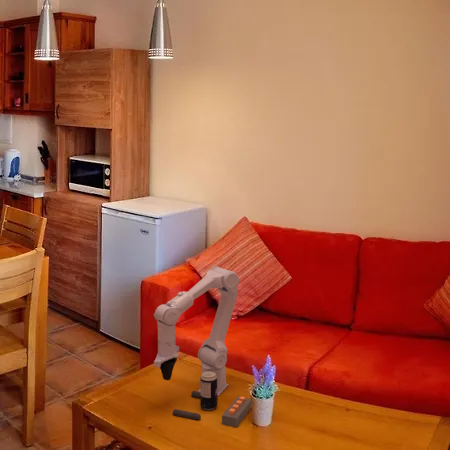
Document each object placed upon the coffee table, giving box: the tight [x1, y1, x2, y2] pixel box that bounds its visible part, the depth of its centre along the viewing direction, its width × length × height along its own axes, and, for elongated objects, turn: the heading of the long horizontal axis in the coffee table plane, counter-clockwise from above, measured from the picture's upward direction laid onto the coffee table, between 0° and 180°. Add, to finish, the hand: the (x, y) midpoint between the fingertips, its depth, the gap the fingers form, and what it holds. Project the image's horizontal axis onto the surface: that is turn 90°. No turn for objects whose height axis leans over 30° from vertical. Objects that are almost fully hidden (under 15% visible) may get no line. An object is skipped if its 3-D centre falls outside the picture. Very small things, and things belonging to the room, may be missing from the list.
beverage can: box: [199, 371, 218, 411], centre depth 205 cm, size 6×6×12 cm
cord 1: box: [172, 408, 202, 421], centre depth 200 cm, size 2×10×2 cm, turn 68°
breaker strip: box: [221, 396, 251, 428], centre depth 201 cm, size 14×5×4 cm, turn 157°
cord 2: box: [190, 390, 219, 401], centre depth 213 cm, size 2×10×2 cm, turn 67°
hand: (167, 379), depth 206 cm, fingers closed
